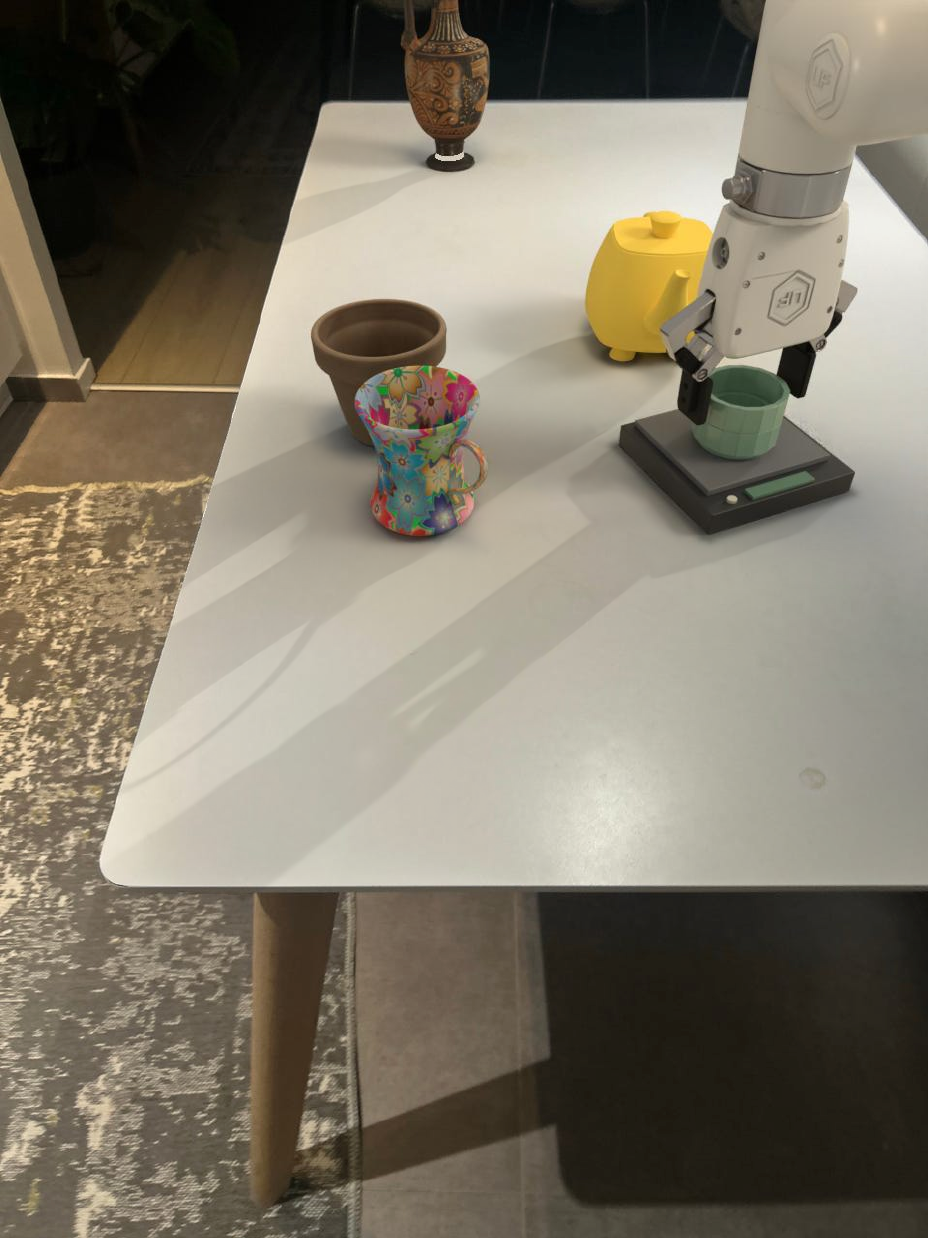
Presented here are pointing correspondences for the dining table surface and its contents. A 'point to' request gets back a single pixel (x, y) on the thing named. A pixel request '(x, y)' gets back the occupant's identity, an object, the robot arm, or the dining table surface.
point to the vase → (445, 81)
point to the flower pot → (374, 346)
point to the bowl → (743, 412)
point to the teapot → (644, 280)
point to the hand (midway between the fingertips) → (740, 403)
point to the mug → (421, 447)
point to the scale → (733, 472)
